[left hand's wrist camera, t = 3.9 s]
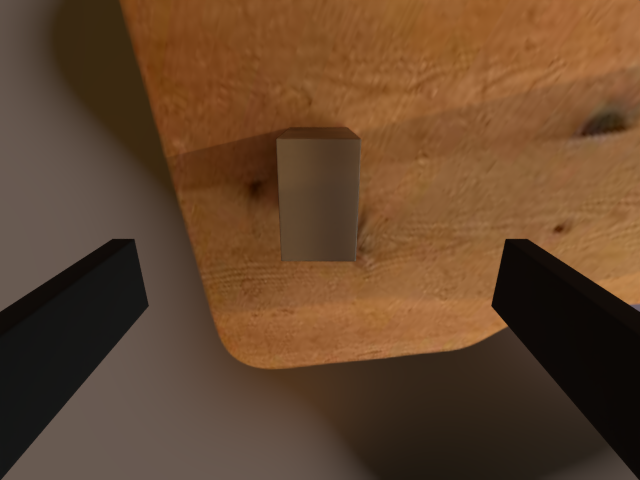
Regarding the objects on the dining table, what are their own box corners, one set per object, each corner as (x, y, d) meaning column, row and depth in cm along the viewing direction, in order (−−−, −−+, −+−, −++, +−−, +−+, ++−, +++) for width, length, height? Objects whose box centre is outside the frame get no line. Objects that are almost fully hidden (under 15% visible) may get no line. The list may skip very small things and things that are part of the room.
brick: (292, 215, 32) (281, 261, 22) (290, 127, 29) (275, 138, 19) (345, 215, 32) (355, 261, 22) (348, 127, 29) (361, 139, 19)
